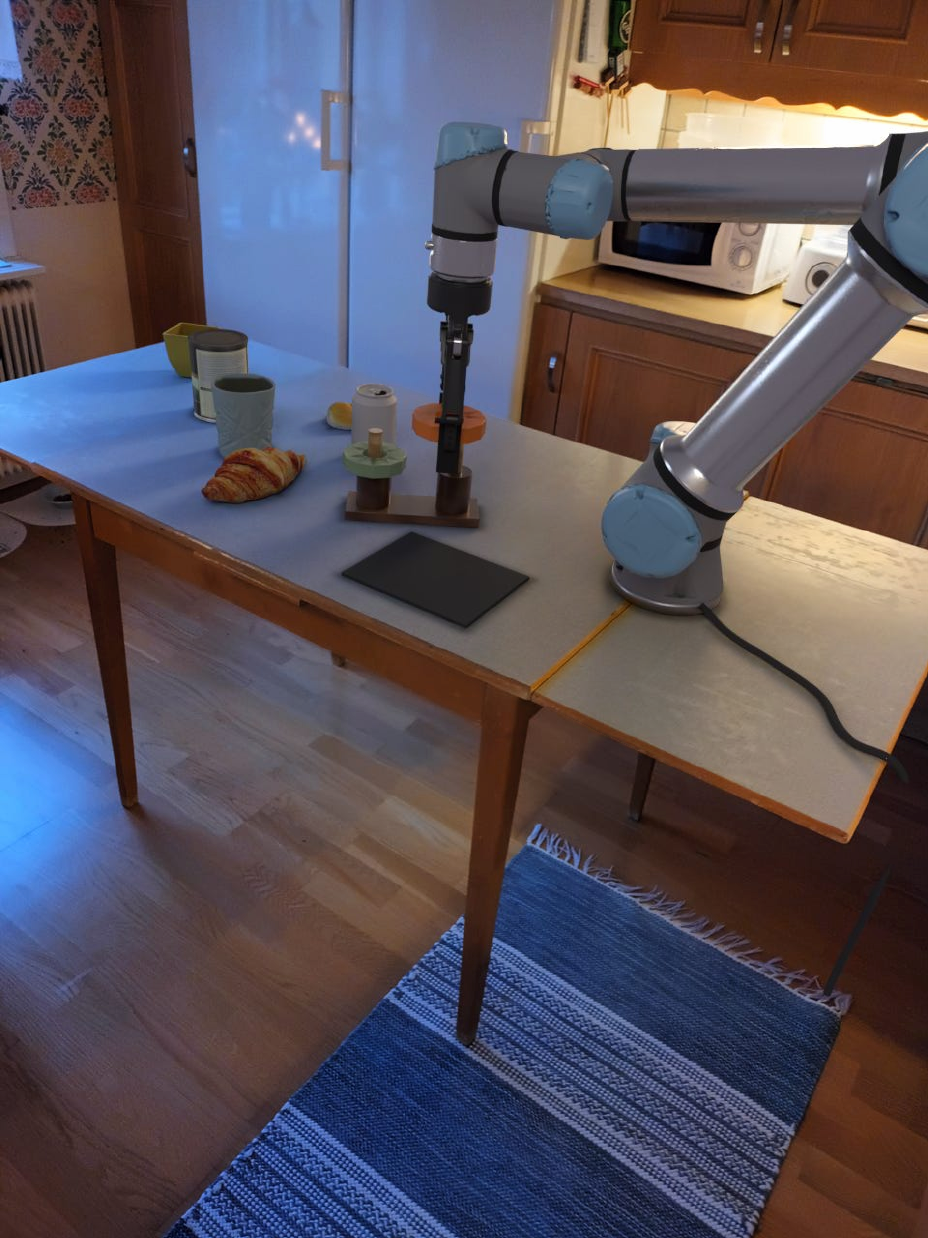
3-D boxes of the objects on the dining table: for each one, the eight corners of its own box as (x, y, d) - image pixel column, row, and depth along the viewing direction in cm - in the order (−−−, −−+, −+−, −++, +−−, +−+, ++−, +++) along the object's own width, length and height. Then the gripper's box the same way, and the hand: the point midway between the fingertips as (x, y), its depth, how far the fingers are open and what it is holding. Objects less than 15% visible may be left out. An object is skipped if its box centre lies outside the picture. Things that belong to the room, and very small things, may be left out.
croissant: (291, 482, 155) (274, 436, 153) (332, 471, 148) (315, 423, 146) (194, 522, 139) (174, 471, 137) (236, 511, 133) (215, 458, 131)
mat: (528, 579, 127) (529, 576, 126) (465, 628, 115) (466, 625, 115) (411, 534, 135) (411, 531, 135) (341, 575, 124) (341, 572, 123)
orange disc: (498, 434, 117) (500, 419, 116) (448, 449, 111) (450, 434, 110) (448, 412, 122) (449, 398, 121) (398, 426, 116) (398, 411, 115)
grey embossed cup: (203, 455, 153) (198, 384, 146) (236, 436, 161) (233, 368, 155) (257, 468, 150) (254, 397, 144) (288, 448, 158) (286, 379, 152)
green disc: (417, 468, 137) (418, 455, 136) (372, 483, 131) (372, 470, 130) (376, 449, 142) (376, 436, 141) (331, 462, 136) (331, 450, 135)
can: (388, 468, 155) (390, 398, 148) (345, 461, 156) (346, 392, 149) (399, 451, 161) (402, 384, 155) (358, 445, 162) (359, 378, 155)
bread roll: (380, 430, 169) (381, 409, 167) (332, 432, 166) (332, 411, 164) (369, 413, 175) (369, 393, 173) (322, 416, 172) (322, 395, 170)
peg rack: (476, 507, 145) (484, 428, 138) (478, 527, 139) (486, 446, 132) (348, 499, 143) (349, 419, 136) (344, 520, 137) (346, 437, 130)
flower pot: (165, 378, 183) (161, 332, 178) (184, 365, 190) (180, 321, 185) (207, 384, 182) (204, 338, 177) (224, 371, 189) (222, 327, 184)
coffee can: (181, 412, 168) (174, 335, 161) (225, 399, 175) (220, 325, 168) (220, 428, 163) (215, 348, 156) (263, 414, 171) (260, 338, 163)
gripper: (429, 252, 115) (419, 423, 127) (427, 294, 97) (415, 490, 109) (489, 257, 116) (473, 427, 128) (498, 300, 97) (478, 494, 109)
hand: (446, 456), depth 118 cm, fingers closed on orange disc, 9 cm apart
